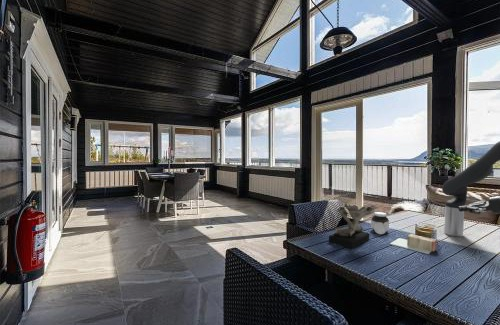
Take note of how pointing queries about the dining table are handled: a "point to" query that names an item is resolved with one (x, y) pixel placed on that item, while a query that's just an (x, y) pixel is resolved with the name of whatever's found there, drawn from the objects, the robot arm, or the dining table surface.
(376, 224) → the spread jar
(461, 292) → the dining table surface
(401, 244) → the sage board
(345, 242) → the coral
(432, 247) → the maple block
